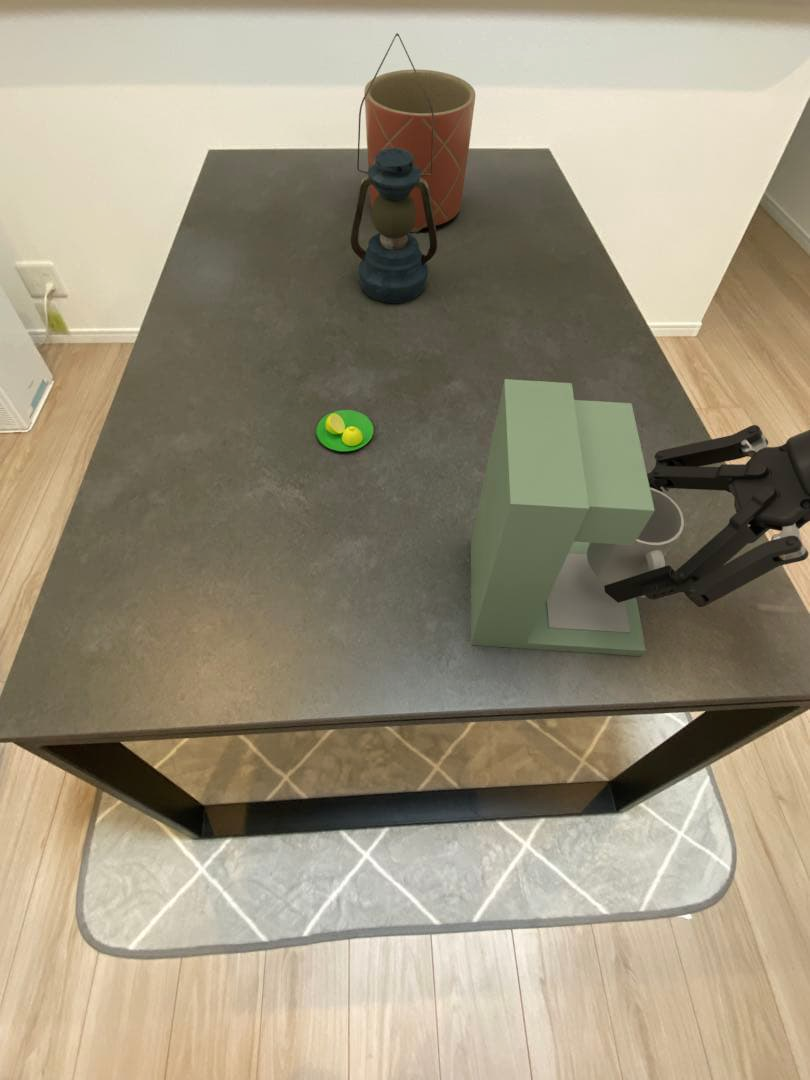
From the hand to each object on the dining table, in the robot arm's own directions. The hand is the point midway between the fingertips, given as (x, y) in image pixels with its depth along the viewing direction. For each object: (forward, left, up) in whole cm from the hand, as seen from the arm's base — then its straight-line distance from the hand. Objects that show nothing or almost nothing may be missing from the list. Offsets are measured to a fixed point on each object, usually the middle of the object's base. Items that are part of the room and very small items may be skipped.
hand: (605, 550), depth 63 cm
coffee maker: (+3, +1, -10) cm, 10 cm away
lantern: (+36, -54, -10) cm, 66 cm away
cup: (-3, 0, -4) cm, 5 cm away
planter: (+38, -80, -10) cm, 89 cm away
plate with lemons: (+34, -18, -10) cm, 40 cm away
